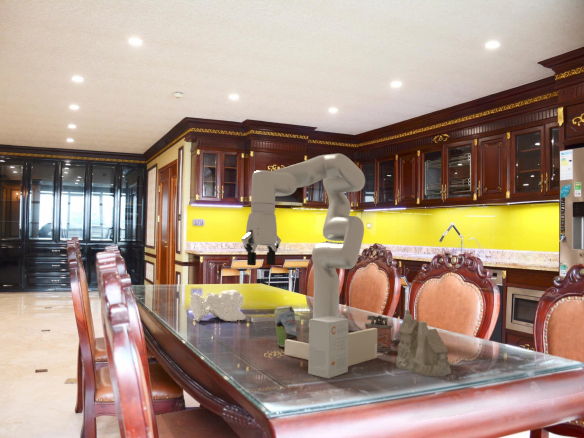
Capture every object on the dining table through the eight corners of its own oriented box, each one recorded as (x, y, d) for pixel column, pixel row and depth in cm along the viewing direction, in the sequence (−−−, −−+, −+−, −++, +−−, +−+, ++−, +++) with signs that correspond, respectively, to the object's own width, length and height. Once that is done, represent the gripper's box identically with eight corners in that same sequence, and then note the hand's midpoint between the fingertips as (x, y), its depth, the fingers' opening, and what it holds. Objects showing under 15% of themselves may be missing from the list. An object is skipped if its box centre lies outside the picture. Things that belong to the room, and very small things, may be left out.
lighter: (392, 349, 147) (392, 315, 147) (390, 351, 144) (391, 317, 144) (365, 346, 150) (366, 313, 150) (363, 349, 146) (363, 315, 147)
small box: (327, 367, 123) (328, 315, 124) (348, 372, 119) (349, 318, 120) (307, 373, 117) (308, 318, 117) (328, 379, 113) (330, 322, 113)
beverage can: (295, 349, 143) (296, 307, 144) (270, 347, 145) (272, 306, 145) (299, 345, 149) (300, 305, 150) (275, 343, 151) (277, 304, 151)
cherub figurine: (188, 291, 195) (235, 285, 204) (190, 323, 195) (237, 315, 204) (197, 294, 184) (247, 287, 193) (199, 327, 183) (249, 319, 192)
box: (320, 346, 148) (321, 319, 149) (376, 357, 136) (377, 328, 136) (284, 354, 136) (285, 325, 136) (342, 367, 123) (343, 335, 124)
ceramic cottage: (423, 377, 116) (426, 313, 118) (384, 363, 131) (386, 307, 133) (474, 376, 122) (476, 315, 124) (430, 363, 137) (432, 309, 139)
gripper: (272, 211, 165) (271, 263, 164) (234, 208, 152) (232, 264, 151) (289, 211, 160) (288, 265, 159) (251, 207, 147) (249, 266, 146)
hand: (261, 264), depth 155 cm, fingers open, 8 cm apart
